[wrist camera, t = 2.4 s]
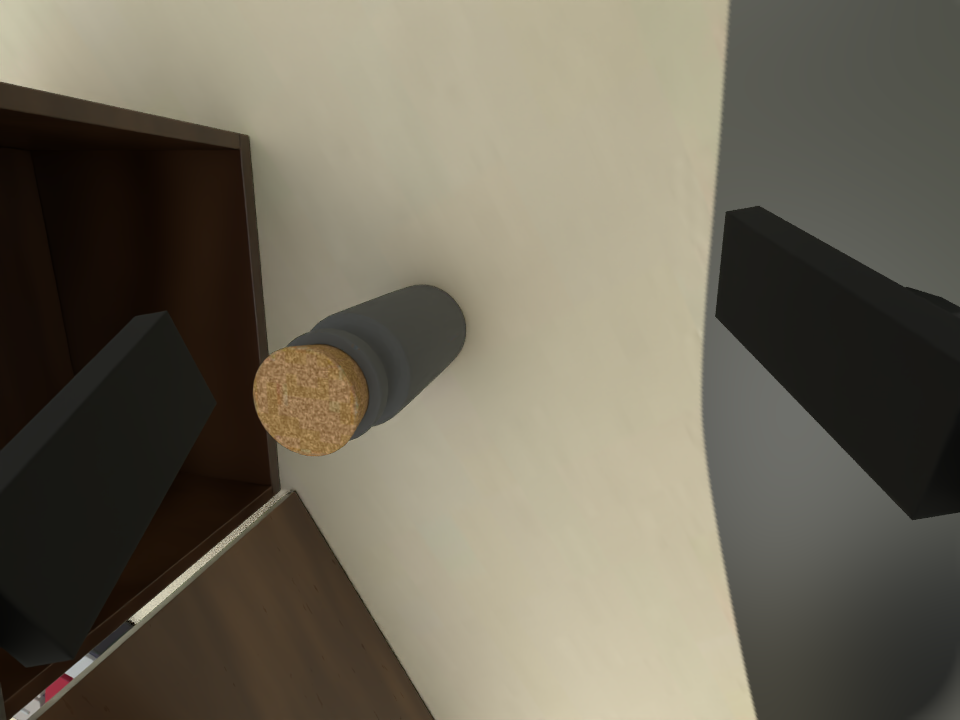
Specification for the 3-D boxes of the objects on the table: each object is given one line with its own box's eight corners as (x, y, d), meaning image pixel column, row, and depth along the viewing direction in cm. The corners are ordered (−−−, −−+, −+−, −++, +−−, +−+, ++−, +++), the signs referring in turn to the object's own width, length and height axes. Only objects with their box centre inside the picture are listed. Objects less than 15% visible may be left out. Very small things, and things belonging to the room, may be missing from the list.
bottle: (449, 383, 36) (347, 492, 22) (373, 348, 37) (226, 432, 23) (480, 305, 34) (389, 370, 20) (399, 269, 35) (256, 308, 21)
